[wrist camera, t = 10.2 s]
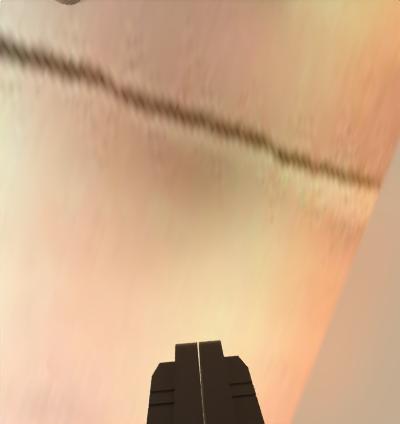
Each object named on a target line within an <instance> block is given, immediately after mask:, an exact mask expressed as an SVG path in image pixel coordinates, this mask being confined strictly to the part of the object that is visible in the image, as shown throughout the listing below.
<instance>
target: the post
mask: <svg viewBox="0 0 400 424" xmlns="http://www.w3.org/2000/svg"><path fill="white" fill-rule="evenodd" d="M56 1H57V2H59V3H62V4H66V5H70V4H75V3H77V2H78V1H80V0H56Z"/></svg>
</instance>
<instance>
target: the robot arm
mask: <svg viewBox="0 0 400 424" xmlns="http://www.w3.org/2000/svg"><path fill="white" fill-rule="evenodd" d="M199 356H200V371H199V359H198V348H197V342H196V343H185V344H176V345H175V362H164V363H160V364H159V365H158V367H157V369H156V370H155V372H154V374H153V375H152V380H151V389H150V398H149V408H148V415H147V424H265V423H264V420H263V417H262V413H261V410H260V406H259V403H258V400H257V397H256V393H255V390H254V386H253V384H252V380H251V376H250V373H249V369H248V367H247V366H246V365H245V363H244V362H243V361H242V360H241V359H240V358H239V356H230V357H224V355H223V350H222V346H221V341H220V340H218V341H207V342H199ZM200 374H201V382H200ZM201 390H202V394H201ZM202 402H203V405H202ZM203 414H204V417H203Z"/></svg>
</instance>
